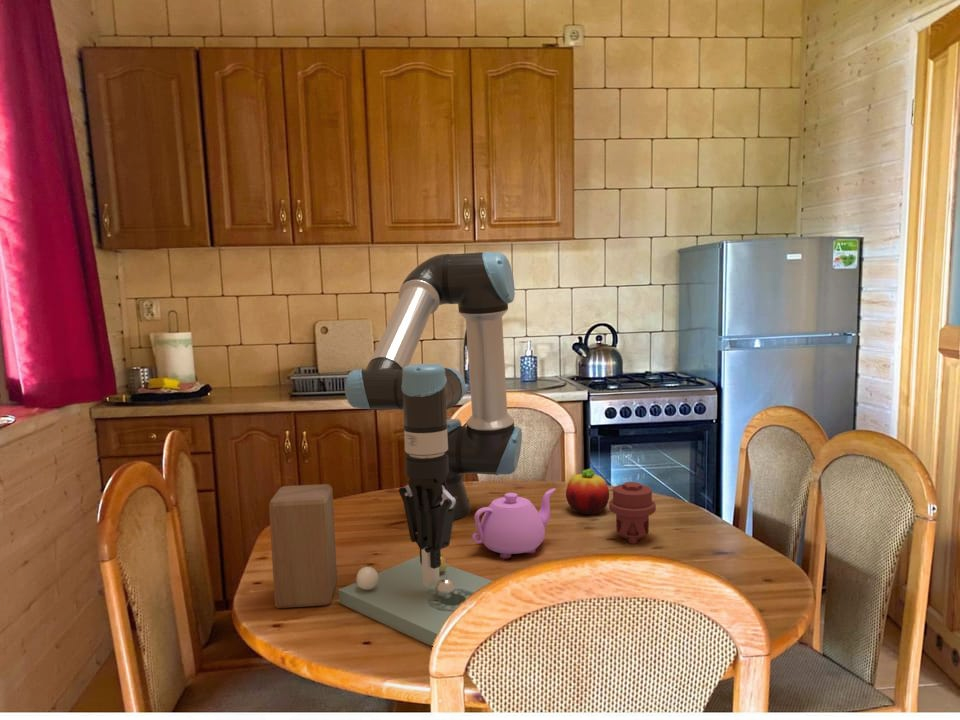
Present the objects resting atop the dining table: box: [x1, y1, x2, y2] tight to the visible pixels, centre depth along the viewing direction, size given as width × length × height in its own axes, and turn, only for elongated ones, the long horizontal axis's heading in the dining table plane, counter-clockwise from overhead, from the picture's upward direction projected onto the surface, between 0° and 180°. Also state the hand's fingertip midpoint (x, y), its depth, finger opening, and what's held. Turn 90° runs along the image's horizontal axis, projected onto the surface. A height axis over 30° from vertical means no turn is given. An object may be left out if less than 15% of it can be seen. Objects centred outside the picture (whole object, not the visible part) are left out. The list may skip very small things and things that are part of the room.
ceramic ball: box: [355, 566, 379, 590], centre depth 121 cm, size 4×4×4 cm
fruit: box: [565, 468, 610, 515], centre depth 168 cm, size 11×11×10 cm
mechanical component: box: [608, 481, 657, 545], centre depth 148 cm, size 12×10×10 cm
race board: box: [338, 555, 493, 647], centre depth 120 cm, size 26×20×2 cm
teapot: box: [471, 487, 557, 559], centre depth 145 cm, size 20×14×12 cm
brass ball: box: [439, 554, 448, 573], centre depth 128 cm, size 4×4×4 cm
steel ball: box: [435, 578, 455, 599], centre depth 117 cm, size 4×4×4 cm
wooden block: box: [268, 483, 338, 609], centre depth 124 cm, size 10×10×20 cm
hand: (431, 583), depth 119 cm, fingers closed
